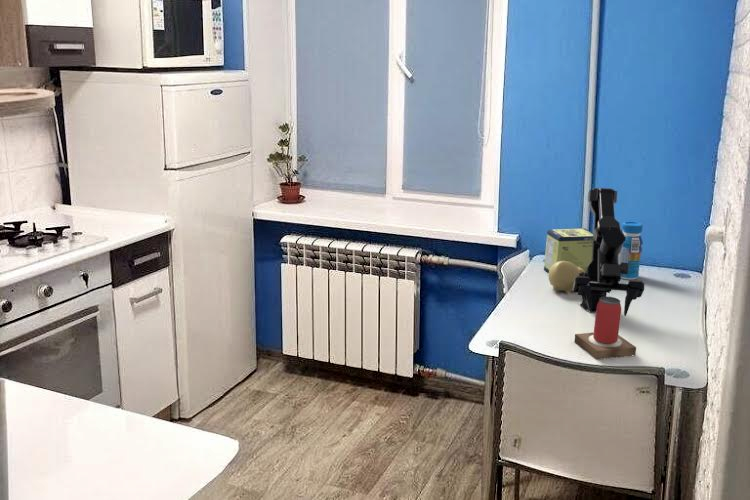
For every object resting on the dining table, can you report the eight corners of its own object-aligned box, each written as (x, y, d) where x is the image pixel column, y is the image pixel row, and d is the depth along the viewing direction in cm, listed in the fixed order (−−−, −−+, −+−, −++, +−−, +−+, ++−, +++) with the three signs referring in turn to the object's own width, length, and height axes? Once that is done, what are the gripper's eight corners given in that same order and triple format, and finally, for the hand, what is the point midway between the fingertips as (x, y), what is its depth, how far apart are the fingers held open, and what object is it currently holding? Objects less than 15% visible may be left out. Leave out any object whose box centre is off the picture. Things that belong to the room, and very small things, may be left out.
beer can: (622, 343, 212) (627, 303, 208) (601, 345, 210) (606, 304, 206) (608, 334, 218) (613, 295, 214) (588, 336, 216) (592, 296, 212)
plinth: (611, 338, 221) (612, 330, 221) (635, 355, 210) (636, 347, 209) (574, 342, 218) (575, 333, 218) (596, 359, 207) (597, 350, 206)
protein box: (594, 276, 277) (599, 235, 273) (554, 278, 274) (558, 236, 270) (581, 268, 287) (585, 227, 283) (542, 269, 284) (546, 229, 279)
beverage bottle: (611, 277, 276) (617, 224, 271) (617, 271, 283) (624, 219, 278) (635, 281, 272) (642, 227, 267) (641, 275, 279) (647, 222, 273)
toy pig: (586, 296, 256) (589, 266, 253) (550, 295, 256) (553, 265, 253) (579, 286, 266) (582, 257, 263) (544, 285, 266) (547, 256, 263)
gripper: (577, 248, 213) (576, 299, 206) (647, 253, 210) (649, 304, 203) (573, 266, 223) (572, 315, 216) (640, 271, 220) (641, 321, 212)
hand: (608, 314), depth 211 cm, fingers open, 9 cm apart
